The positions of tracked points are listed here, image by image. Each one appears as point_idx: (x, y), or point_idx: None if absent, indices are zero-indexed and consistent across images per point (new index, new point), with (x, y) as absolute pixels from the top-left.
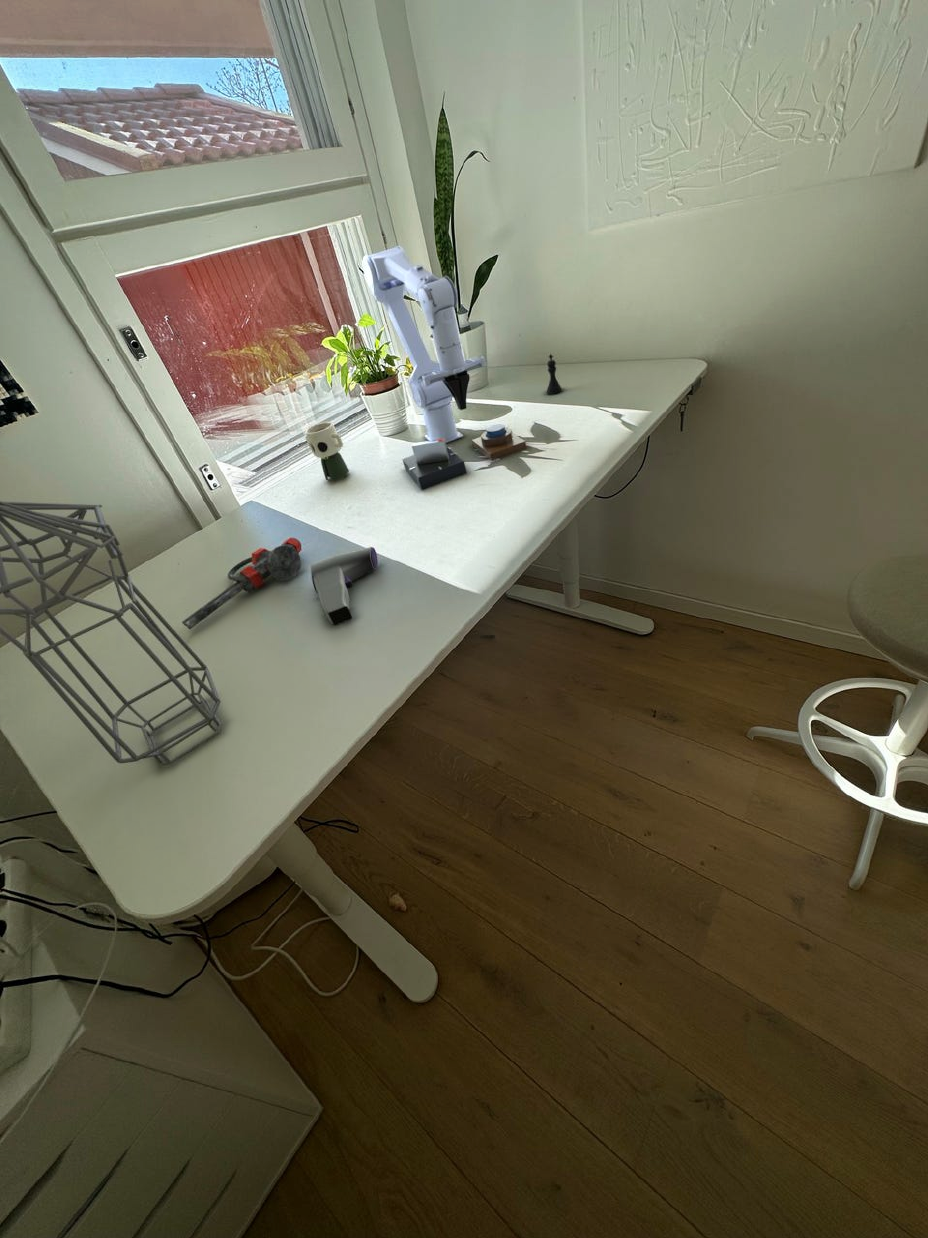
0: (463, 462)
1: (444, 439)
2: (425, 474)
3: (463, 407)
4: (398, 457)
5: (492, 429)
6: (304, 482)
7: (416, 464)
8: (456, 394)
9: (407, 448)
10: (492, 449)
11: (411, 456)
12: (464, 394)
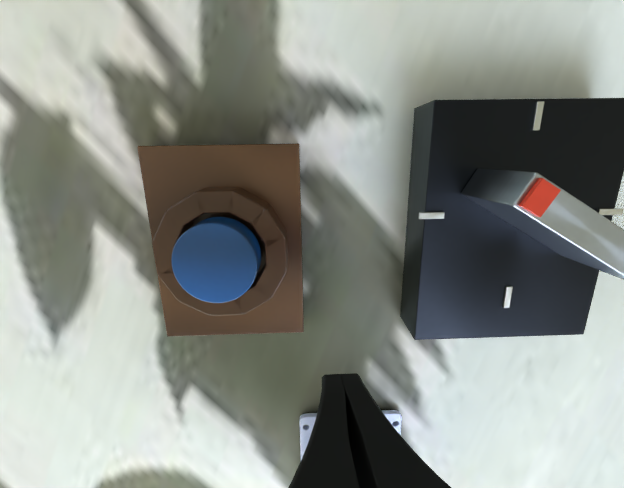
0: (436, 100)
1: (517, 197)
2: (605, 106)
3: (343, 378)
4: (515, 424)
5: (232, 254)
6: None
7: None
8: (406, 452)
9: (465, 464)
10: (275, 179)
11: (550, 329)
12: (329, 437)
